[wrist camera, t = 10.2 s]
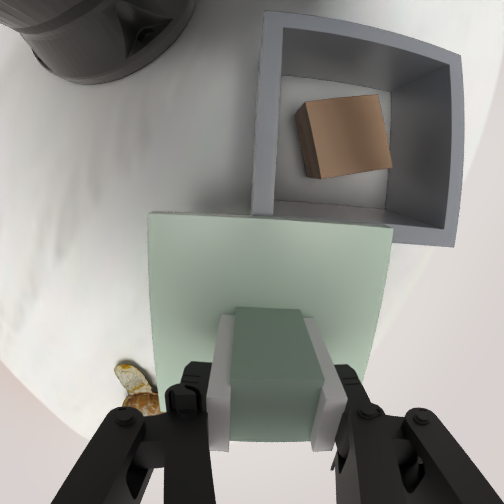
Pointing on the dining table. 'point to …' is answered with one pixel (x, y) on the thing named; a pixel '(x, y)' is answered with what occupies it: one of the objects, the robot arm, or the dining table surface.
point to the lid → (264, 307)
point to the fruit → (138, 390)
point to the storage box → (402, 120)
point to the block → (343, 136)
